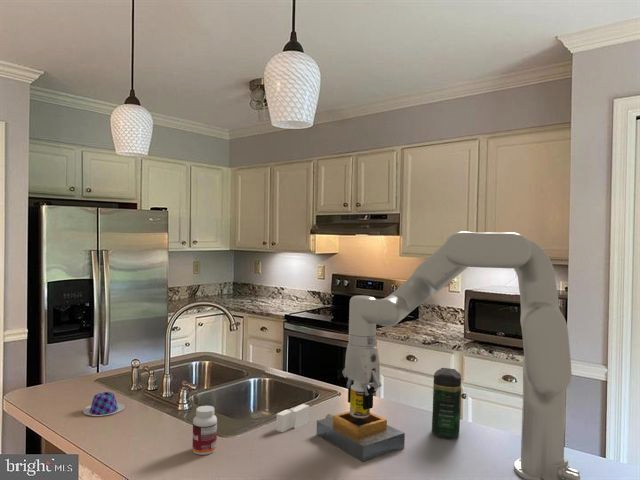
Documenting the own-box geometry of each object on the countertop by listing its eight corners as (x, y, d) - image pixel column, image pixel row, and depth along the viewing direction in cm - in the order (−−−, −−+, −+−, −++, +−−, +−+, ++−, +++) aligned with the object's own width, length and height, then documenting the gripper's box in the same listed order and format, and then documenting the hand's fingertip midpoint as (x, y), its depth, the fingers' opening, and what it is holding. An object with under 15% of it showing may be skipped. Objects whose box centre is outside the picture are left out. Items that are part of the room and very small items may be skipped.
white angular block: (309, 418, 151) (310, 400, 151) (320, 432, 140) (320, 412, 140) (262, 422, 146) (262, 403, 146) (269, 437, 136) (270, 417, 136)
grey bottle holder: (404, 447, 130) (405, 423, 130) (363, 461, 121) (363, 436, 121) (347, 419, 149) (348, 398, 149) (308, 429, 140) (308, 407, 140)
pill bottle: (190, 447, 127) (191, 405, 127) (214, 443, 129) (215, 403, 129) (193, 457, 121) (194, 414, 121) (218, 453, 124) (219, 411, 124)
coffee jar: (459, 442, 135) (461, 376, 135) (430, 437, 137) (432, 372, 137) (460, 429, 144) (462, 367, 144) (433, 425, 146) (435, 364, 146)
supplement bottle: (353, 419, 130) (354, 382, 130) (347, 412, 136) (348, 376, 136) (372, 418, 132) (373, 381, 131) (366, 411, 137) (367, 375, 137)
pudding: (128, 413, 150) (128, 397, 150) (85, 421, 143) (86, 403, 143) (120, 402, 160) (120, 386, 160) (80, 408, 153) (80, 392, 153)
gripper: (393, 345, 129) (391, 412, 129) (352, 333, 143) (350, 394, 143) (373, 348, 124) (371, 417, 124) (332, 336, 138) (330, 398, 138)
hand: (360, 404), depth 134 cm, fingers closed on supplement bottle, 5 cm apart
